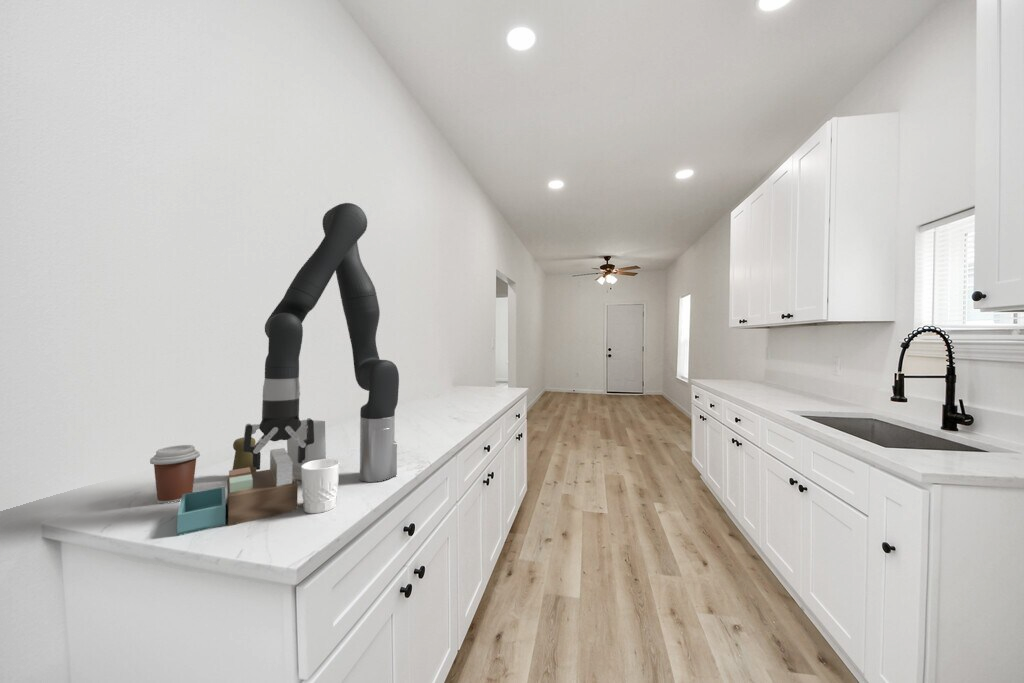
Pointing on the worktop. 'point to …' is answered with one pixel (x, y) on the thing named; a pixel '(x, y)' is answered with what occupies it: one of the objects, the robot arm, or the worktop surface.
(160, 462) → the coffee cup
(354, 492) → the worktop surface
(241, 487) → the sage tile
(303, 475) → the white cup
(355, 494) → the worktop surface
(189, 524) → the teal box
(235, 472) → the terracotta tile
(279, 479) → the steel bar
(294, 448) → the skincare box
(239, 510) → the brown wooden box
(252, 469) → the olive pepper mill
